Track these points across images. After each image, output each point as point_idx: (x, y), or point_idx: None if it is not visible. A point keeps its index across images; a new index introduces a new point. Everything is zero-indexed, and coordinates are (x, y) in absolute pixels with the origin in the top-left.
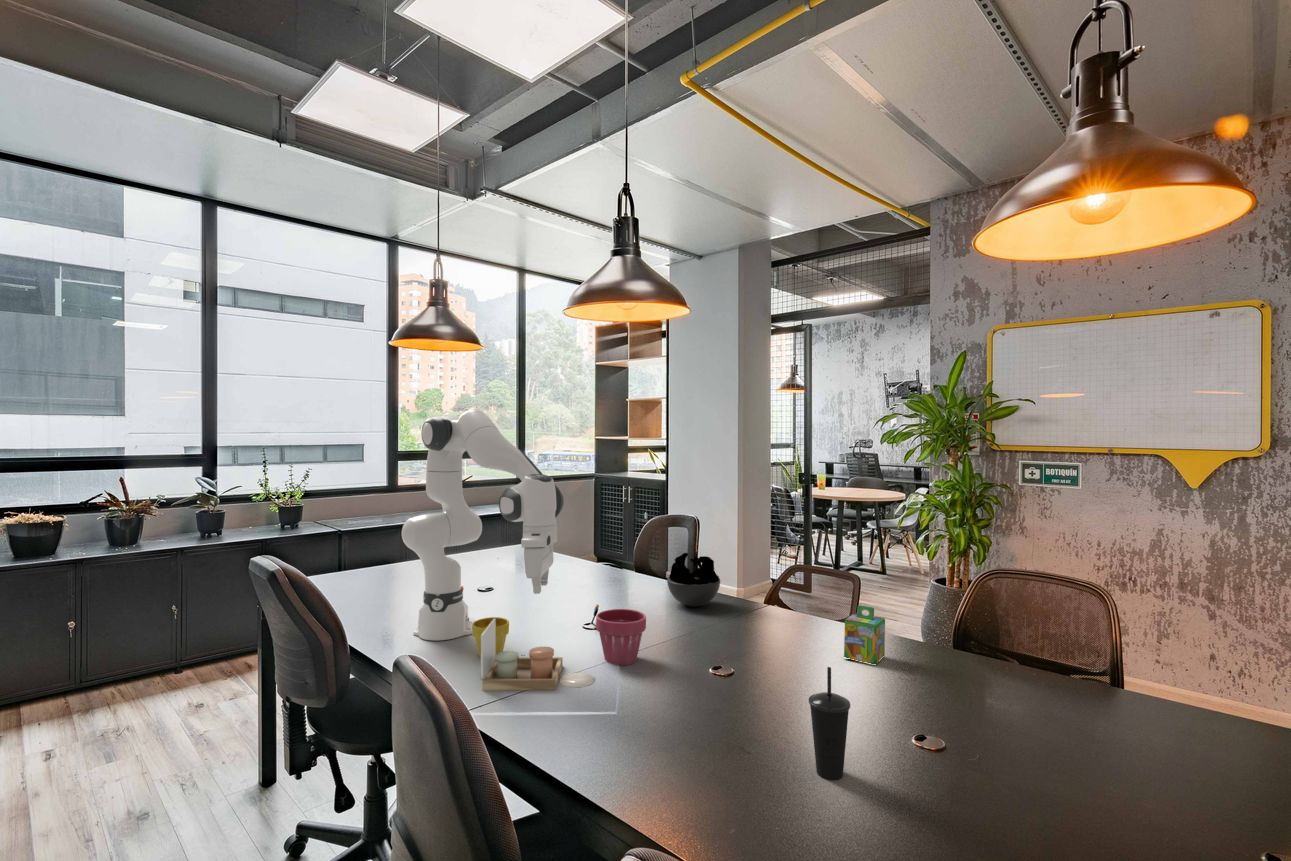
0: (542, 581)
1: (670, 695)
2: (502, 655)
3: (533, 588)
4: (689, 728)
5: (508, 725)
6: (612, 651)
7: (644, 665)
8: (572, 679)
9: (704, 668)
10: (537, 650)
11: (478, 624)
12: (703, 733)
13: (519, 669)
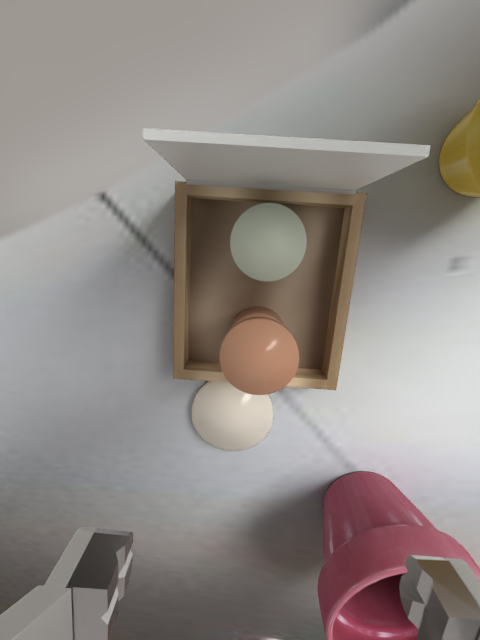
0: (428, 604)
1: (159, 567)
2: (262, 227)
3: (57, 566)
4: (33, 574)
5: (11, 281)
6: (331, 513)
7: (318, 542)
8: (233, 405)
9: (285, 633)
10: (263, 345)
11: None
12: (18, 588)
13: (321, 269)
